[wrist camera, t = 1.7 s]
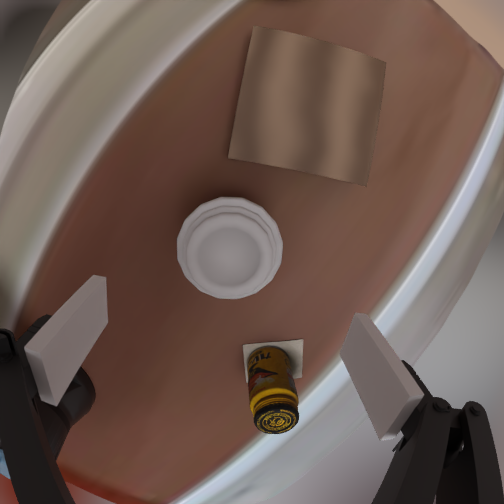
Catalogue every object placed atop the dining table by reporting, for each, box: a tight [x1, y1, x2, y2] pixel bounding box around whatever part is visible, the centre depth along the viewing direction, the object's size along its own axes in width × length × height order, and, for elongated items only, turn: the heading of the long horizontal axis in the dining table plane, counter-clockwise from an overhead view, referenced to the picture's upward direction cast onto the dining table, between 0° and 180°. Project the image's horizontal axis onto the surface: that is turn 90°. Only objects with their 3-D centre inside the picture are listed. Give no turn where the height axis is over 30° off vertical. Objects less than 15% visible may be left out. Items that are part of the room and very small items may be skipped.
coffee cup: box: [177, 197, 283, 299], centre depth 29 cm, size 9×9×12 cm
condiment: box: [243, 339, 303, 434], centre depth 36 cm, size 7×8×12 cm
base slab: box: [228, 26, 386, 187], centre depth 29 cm, size 15×15×4 cm
